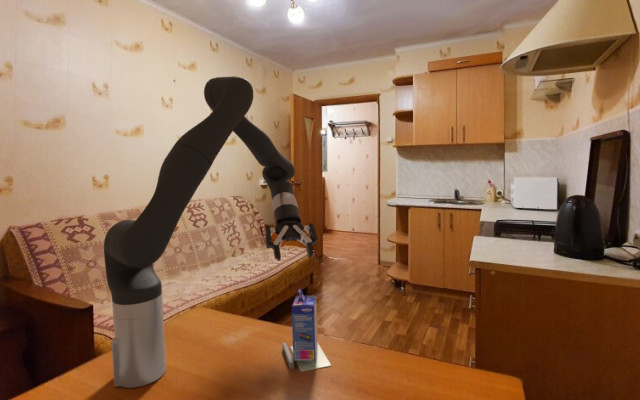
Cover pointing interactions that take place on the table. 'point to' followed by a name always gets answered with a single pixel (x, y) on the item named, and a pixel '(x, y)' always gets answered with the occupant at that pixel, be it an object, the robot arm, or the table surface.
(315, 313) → the ink cartridge box
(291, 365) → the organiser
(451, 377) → the table surface
